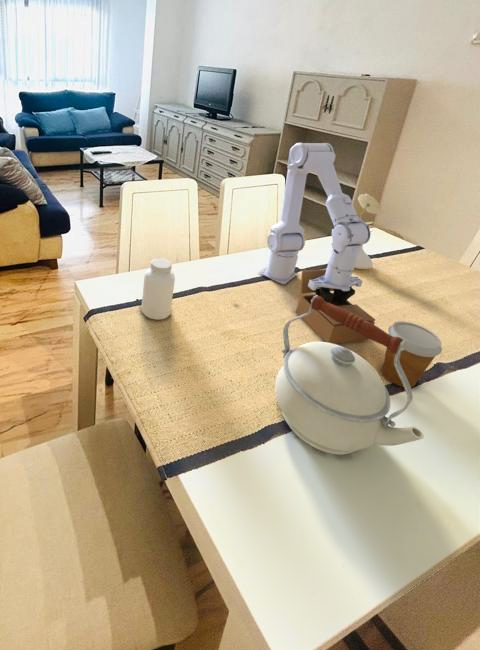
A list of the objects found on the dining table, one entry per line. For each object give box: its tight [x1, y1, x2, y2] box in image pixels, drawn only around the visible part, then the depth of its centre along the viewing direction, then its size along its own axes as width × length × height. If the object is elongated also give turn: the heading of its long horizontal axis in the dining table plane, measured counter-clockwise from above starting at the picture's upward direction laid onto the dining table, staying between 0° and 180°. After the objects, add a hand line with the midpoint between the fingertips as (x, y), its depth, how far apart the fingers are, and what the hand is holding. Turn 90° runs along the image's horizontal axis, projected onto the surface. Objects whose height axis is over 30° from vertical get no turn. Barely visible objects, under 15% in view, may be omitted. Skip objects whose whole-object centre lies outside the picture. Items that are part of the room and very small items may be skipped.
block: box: [321, 298, 342, 318], centre depth 103 cm, size 4×4×4 cm
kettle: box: [274, 295, 425, 456], centre depth 69 cm, size 25×18×25 cm
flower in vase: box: [354, 193, 381, 270], centre depth 131 cm, size 13×11×25 cm
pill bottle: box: [141, 257, 176, 321], centre depth 101 cm, size 8×8×15 cm
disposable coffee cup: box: [381, 320, 443, 388], centre depth 85 cm, size 10×10×12 cm
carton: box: [295, 292, 376, 345], centre depth 101 cm, size 13×12×6 cm
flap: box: [300, 268, 334, 295], centre depth 106 cm, size 6×12×1 cm
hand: (327, 309), depth 104 cm, fingers closed on block, 4 cm apart
